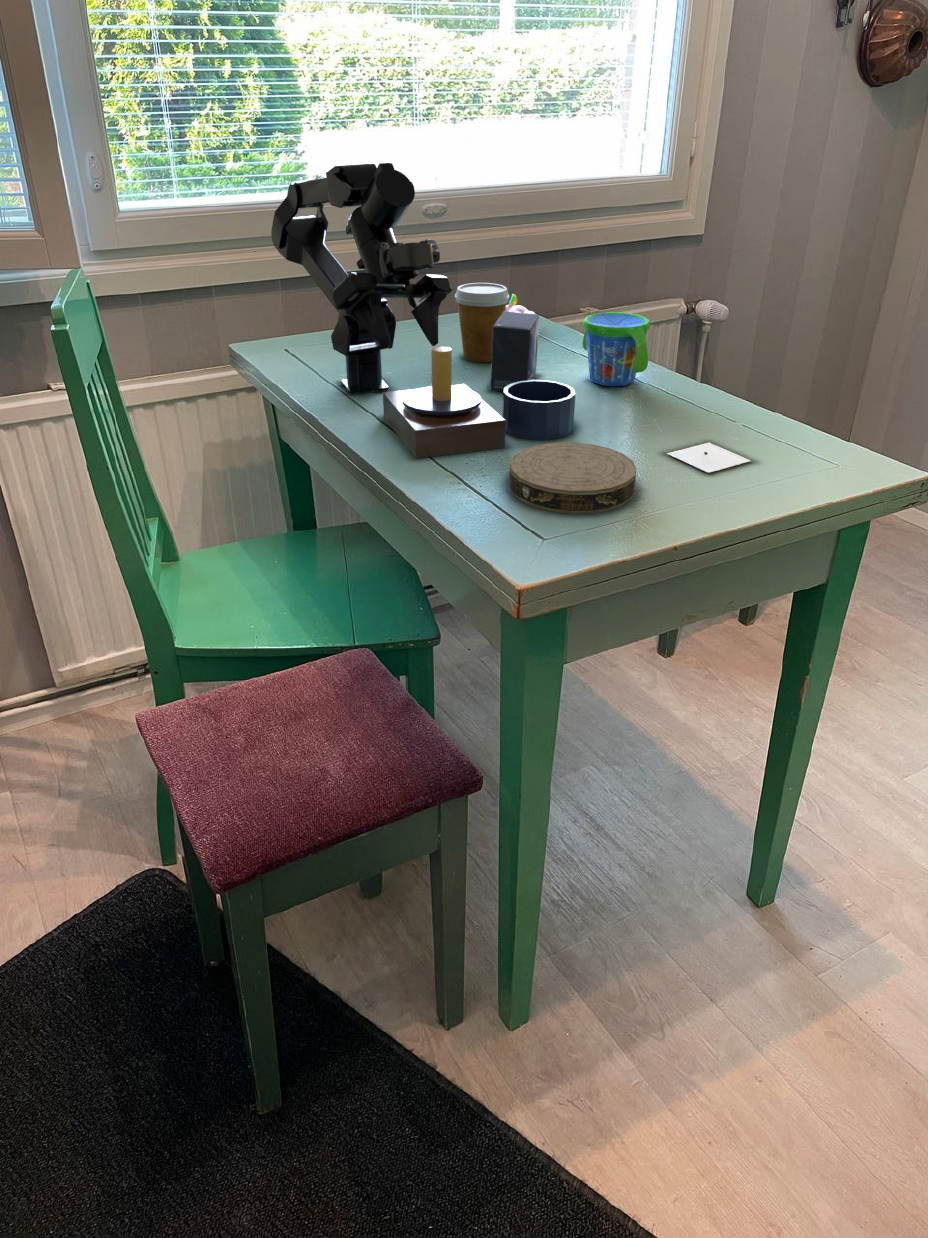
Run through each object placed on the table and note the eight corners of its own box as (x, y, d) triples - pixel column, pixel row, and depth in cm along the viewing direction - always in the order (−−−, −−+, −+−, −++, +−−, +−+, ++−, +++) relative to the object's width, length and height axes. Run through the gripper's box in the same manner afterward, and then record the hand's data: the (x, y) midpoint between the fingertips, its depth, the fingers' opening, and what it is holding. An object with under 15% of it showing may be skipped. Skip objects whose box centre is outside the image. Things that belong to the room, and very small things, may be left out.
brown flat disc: (653, 507, 114) (656, 485, 113) (527, 519, 111) (528, 495, 110) (609, 459, 128) (611, 438, 126) (495, 468, 125) (496, 446, 123)
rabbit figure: (489, 323, 194) (514, 329, 180) (489, 293, 191) (513, 297, 178) (518, 321, 195) (544, 327, 182) (517, 291, 193) (544, 295, 180)
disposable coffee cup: (517, 354, 170) (519, 286, 164) (490, 367, 163) (491, 296, 157) (472, 346, 174) (473, 279, 168) (444, 359, 167) (444, 289, 161)
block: (383, 418, 141) (382, 392, 139) (465, 409, 145) (465, 383, 143) (416, 458, 127) (415, 430, 125) (505, 447, 131) (505, 419, 129)
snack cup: (563, 370, 162) (566, 310, 156) (617, 365, 165) (622, 305, 160) (604, 398, 149) (610, 334, 144) (662, 391, 152) (670, 328, 147)
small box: (529, 394, 151) (531, 328, 145) (489, 391, 152) (490, 326, 146) (537, 375, 160) (540, 312, 154) (500, 372, 161) (501, 310, 155)
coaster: (751, 460, 127) (752, 455, 127) (708, 472, 123) (709, 467, 123) (708, 442, 133) (709, 437, 132) (666, 453, 129) (667, 448, 129)
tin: (492, 419, 141) (493, 383, 138) (555, 412, 144) (557, 377, 141) (518, 443, 132) (519, 405, 130) (584, 435, 135) (587, 398, 133)
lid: (407, 391, 139) (406, 336, 135) (483, 394, 138) (484, 338, 134) (397, 417, 130) (395, 359, 125) (479, 420, 129) (479, 361, 125)
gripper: (357, 210, 125) (396, 319, 125) (456, 219, 138) (492, 318, 137) (315, 255, 133) (351, 357, 133) (412, 259, 146) (445, 353, 145)
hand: (412, 345), depth 137 cm, fingers open, 9 cm apart
